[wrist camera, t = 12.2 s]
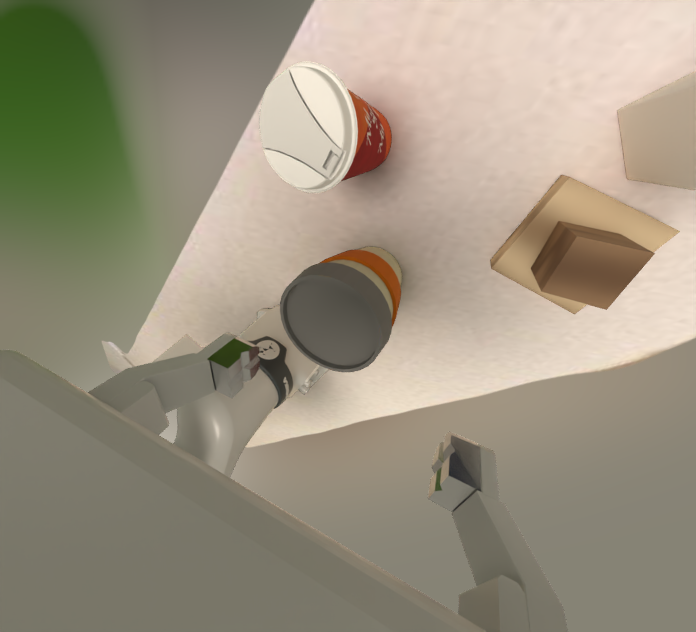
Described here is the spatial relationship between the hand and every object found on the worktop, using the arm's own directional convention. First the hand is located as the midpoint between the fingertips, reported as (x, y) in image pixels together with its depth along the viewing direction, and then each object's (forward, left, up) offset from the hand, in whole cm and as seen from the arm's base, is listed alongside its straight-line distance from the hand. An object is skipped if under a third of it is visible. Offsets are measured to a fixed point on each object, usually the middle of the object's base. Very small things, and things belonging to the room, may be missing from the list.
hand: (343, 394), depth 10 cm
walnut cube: (+5, -13, -25) cm, 29 cm away
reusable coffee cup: (-10, +4, -29) cm, 30 cm away
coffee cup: (+5, +12, -29) cm, 31 cm away
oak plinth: (+5, -13, -28) cm, 31 cm away
